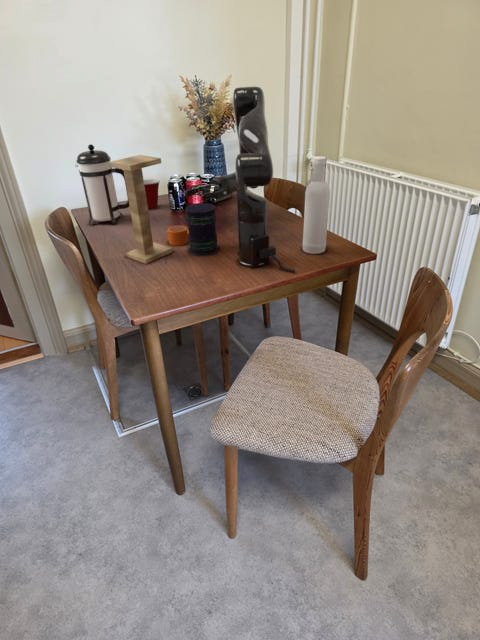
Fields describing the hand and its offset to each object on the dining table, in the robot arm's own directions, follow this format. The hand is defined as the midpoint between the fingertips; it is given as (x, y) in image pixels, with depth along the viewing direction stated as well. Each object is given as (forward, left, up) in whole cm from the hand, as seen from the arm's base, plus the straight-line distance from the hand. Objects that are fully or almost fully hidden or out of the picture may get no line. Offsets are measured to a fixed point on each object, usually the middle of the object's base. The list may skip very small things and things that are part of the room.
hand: (194, 196), depth 152 cm
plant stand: (-8, +22, -14) cm, 28 cm away
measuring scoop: (-1, +4, -14) cm, 15 cm away
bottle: (-37, -26, -15) cm, 48 cm away
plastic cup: (+43, +2, -15) cm, 45 cm away
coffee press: (+37, +23, -15) cm, 46 cm away
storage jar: (-15, +5, -15) cm, 22 cm away
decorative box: (+33, -26, -15) cm, 44 cm away
